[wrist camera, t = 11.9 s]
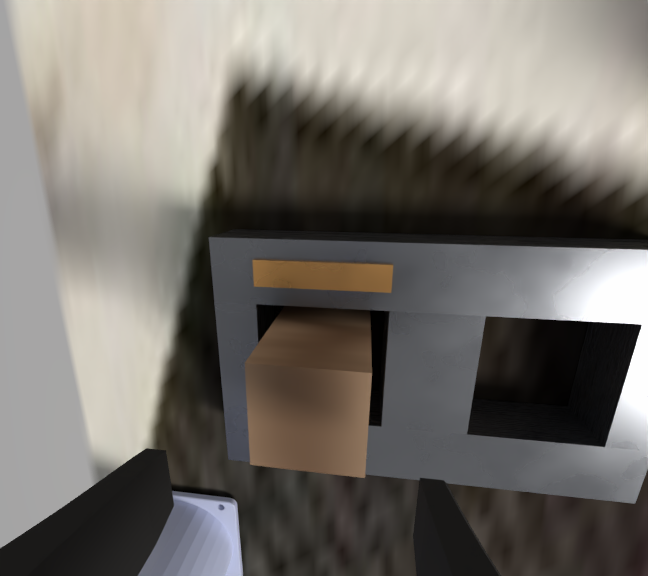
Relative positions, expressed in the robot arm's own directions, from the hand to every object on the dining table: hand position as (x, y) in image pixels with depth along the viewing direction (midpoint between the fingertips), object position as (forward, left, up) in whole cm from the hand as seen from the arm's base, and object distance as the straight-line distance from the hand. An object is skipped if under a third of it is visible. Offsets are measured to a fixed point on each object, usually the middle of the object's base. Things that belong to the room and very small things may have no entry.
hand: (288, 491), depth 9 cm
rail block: (+5, 0, -10) cm, 11 cm away
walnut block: (0, 0, -10) cm, 10 cm away
